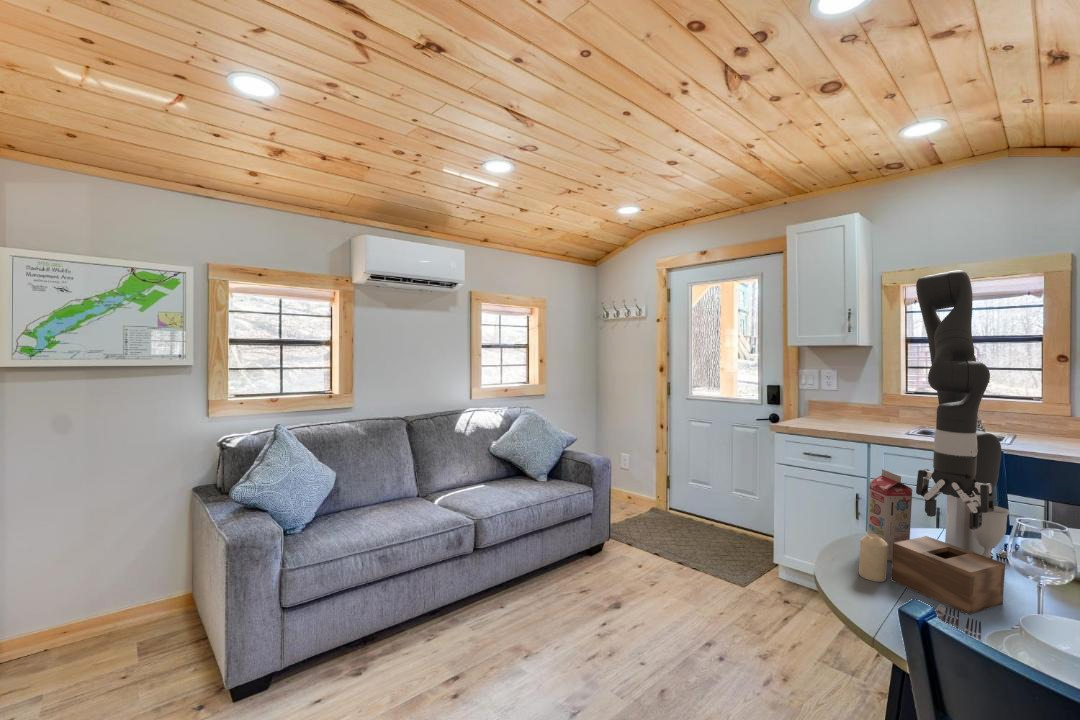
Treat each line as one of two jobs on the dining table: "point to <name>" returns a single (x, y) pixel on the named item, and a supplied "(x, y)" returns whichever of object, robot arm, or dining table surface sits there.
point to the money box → (949, 574)
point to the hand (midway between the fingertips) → (952, 522)
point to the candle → (873, 558)
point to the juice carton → (889, 509)
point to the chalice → (992, 529)
